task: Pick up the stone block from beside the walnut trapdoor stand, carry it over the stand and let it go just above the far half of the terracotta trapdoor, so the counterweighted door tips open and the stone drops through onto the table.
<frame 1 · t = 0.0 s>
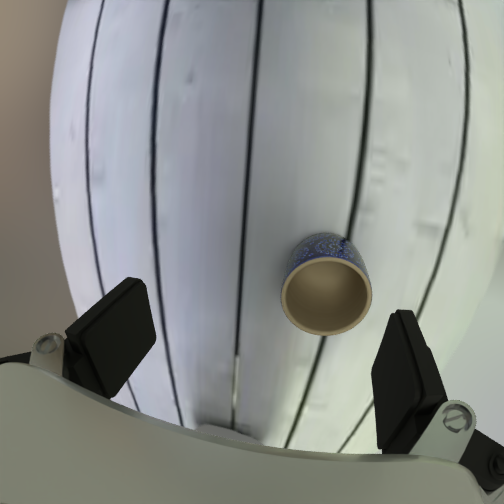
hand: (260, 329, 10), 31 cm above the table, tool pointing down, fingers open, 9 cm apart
planter: (325, 260, 42), on the table
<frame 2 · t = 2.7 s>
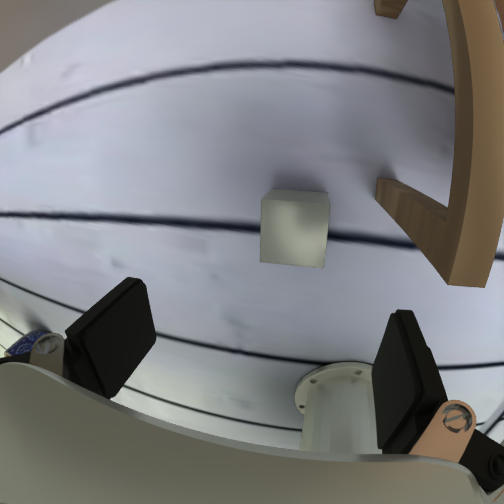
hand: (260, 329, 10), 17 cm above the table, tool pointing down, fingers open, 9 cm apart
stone: (298, 217, 25), on the table
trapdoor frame: (474, 113, 17), on the table
planter: (52, 344, 46), on the table
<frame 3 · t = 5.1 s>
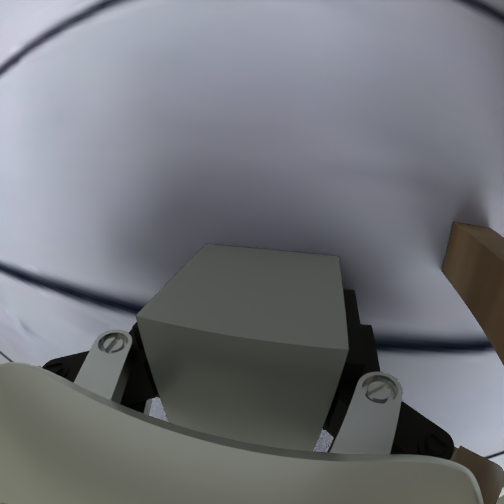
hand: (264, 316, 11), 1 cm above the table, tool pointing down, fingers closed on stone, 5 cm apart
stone: (268, 306, 11), on the table, touching gripper
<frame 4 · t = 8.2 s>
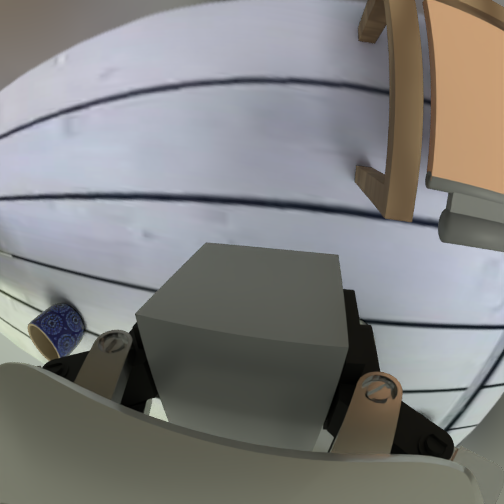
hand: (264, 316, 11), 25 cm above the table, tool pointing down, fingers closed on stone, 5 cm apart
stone: (267, 305, 11), point 24 cm above the table, touching gripper
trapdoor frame: (435, 115, 26), on the table
planter: (73, 317, 55), on the table
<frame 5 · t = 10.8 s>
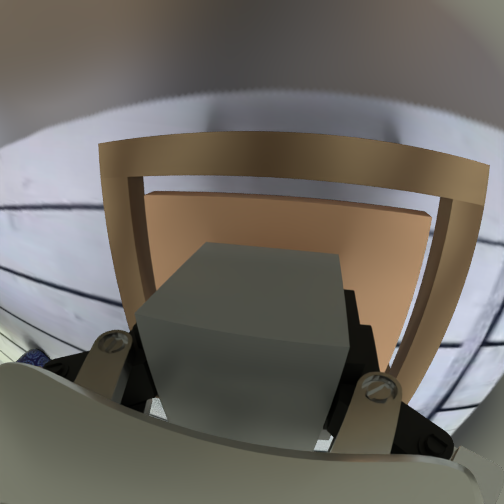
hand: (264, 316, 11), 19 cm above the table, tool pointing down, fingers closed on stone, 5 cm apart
trapdoor: (274, 350, 16), point 16 cm above the table, hinge at 0.0°
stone: (267, 305, 11), point 19 cm above the table, touching gripper
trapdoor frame: (297, 232, 29), on the table
planter: (46, 359, 59), on the table
when the fingers open (19 cm above the table, at t = 11.7 s): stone drops 16 cm and tips over, point 2 cm above the table.
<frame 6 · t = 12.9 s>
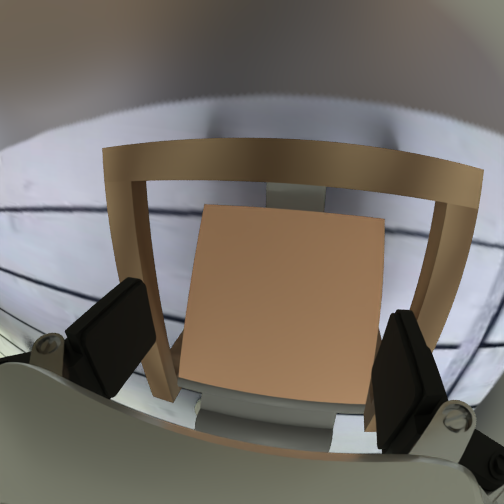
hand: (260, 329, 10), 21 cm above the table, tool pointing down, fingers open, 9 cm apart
trapdoor: (279, 334, 20), point 13 cm above the table, hinge at -34.7°
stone: (296, 217, 27), point 2 cm above the table, tilted 90°
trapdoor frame: (296, 235, 30), on the table
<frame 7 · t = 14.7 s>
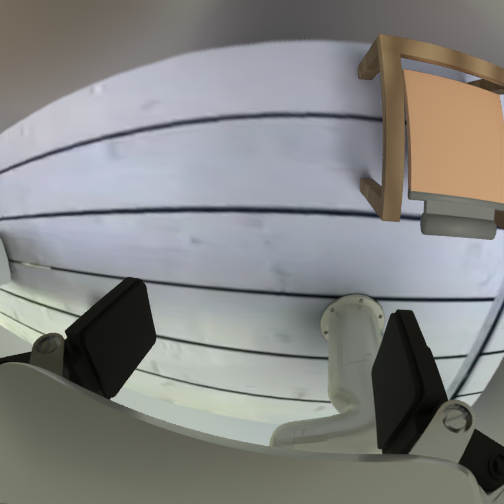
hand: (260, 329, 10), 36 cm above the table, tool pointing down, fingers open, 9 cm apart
trapdoor: (462, 156, 23), point 15 cm above the table, hinge at -9.8°
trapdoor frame: (420, 134, 35), on the table
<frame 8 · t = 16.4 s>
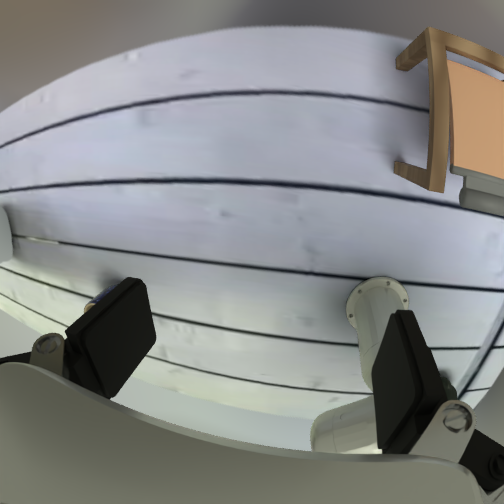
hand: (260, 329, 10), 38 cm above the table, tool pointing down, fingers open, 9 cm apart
trapdoor: (494, 141, 22), point 15 cm above the table, hinge at -8.6°
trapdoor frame: (449, 125, 35), on the table
squash: (426, 388, 56), on the table
planter: (128, 298, 64), on the table
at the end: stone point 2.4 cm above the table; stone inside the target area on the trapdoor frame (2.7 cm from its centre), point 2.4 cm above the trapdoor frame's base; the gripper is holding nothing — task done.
